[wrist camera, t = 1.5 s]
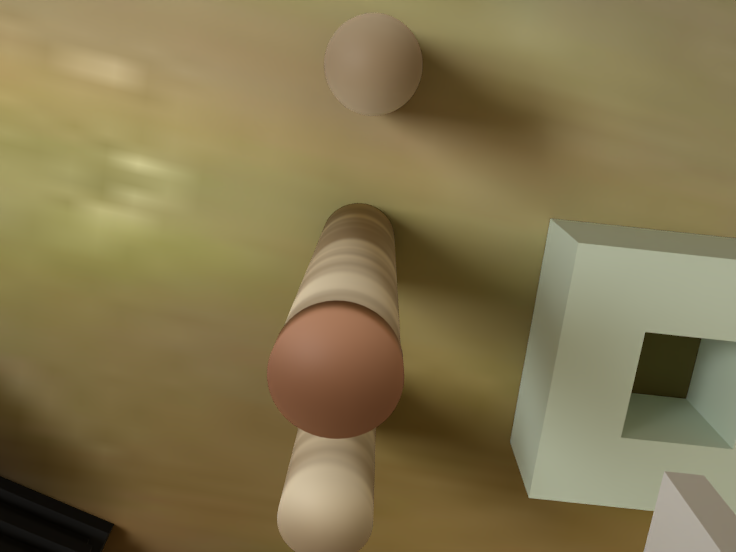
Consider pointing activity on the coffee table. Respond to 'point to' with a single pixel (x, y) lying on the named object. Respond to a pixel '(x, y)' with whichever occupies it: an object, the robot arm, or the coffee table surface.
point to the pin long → (342, 331)
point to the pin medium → (328, 493)
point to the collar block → (626, 366)
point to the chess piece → (46, 523)
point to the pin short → (373, 64)
